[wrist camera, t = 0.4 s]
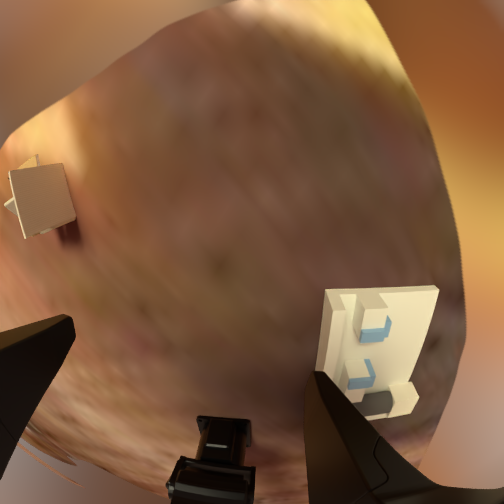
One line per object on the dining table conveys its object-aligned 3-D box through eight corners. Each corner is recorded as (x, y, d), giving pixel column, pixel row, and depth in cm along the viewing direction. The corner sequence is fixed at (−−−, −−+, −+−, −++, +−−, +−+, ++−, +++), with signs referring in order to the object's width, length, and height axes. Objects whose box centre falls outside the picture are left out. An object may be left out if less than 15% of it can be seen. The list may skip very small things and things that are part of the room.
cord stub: (404, 397, 25) (410, 413, 23) (327, 407, 26) (330, 425, 24) (411, 381, 24) (419, 397, 22) (332, 391, 25) (335, 409, 23)
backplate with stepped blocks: (389, 410, 28) (397, 433, 24) (306, 419, 28) (308, 445, 25) (434, 285, 22) (455, 305, 18) (325, 289, 22) (334, 314, 19)
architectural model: (58, 227, 23) (8, 250, 16) (42, 164, 21) (-11, 173, 14) (80, 217, 23) (27, 240, 16) (63, 151, 20) (7, 156, 13)
